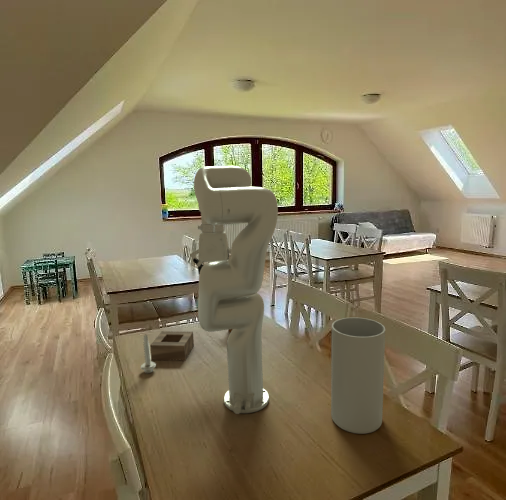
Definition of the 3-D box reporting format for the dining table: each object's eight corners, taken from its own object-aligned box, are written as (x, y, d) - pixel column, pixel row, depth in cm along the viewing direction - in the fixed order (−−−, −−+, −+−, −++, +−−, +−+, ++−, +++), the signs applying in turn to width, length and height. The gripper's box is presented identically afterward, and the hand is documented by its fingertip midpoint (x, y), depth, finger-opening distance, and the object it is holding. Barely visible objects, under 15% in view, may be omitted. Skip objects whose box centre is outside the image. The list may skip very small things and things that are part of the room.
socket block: (185, 360, 133) (184, 345, 132) (151, 359, 134) (150, 345, 133) (193, 345, 145) (193, 331, 144) (162, 345, 146) (161, 331, 145)
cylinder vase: (344, 399, 107) (345, 314, 102) (389, 416, 99) (393, 324, 94) (322, 422, 97) (322, 329, 93) (370, 442, 89) (372, 341, 85)
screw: (145, 376, 123) (138, 371, 126) (159, 371, 126) (152, 366, 130) (141, 338, 120) (135, 334, 124) (155, 334, 123) (149, 330, 127)
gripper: (185, 230, 131) (188, 279, 134) (235, 229, 128) (237, 279, 131) (191, 227, 138) (194, 274, 141) (239, 226, 136) (241, 274, 139)
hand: (215, 276), depth 136 cm, fingers open, 9 cm apart
